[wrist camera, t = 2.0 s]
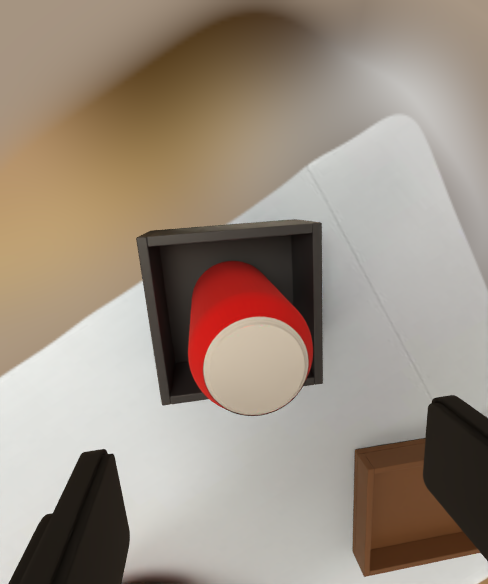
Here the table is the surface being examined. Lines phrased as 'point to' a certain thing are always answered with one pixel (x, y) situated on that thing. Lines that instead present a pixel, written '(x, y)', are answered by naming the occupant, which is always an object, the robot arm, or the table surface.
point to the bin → (213, 250)
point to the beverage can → (246, 341)
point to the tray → (400, 512)
